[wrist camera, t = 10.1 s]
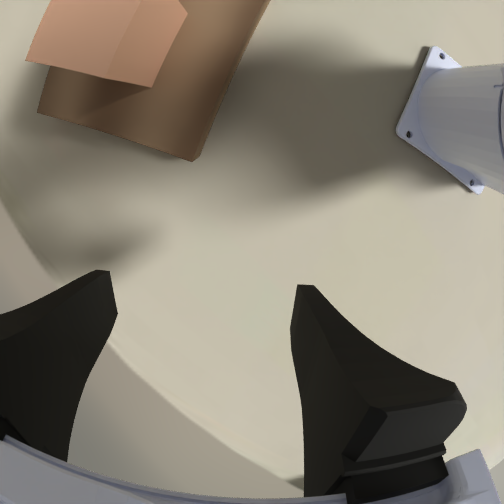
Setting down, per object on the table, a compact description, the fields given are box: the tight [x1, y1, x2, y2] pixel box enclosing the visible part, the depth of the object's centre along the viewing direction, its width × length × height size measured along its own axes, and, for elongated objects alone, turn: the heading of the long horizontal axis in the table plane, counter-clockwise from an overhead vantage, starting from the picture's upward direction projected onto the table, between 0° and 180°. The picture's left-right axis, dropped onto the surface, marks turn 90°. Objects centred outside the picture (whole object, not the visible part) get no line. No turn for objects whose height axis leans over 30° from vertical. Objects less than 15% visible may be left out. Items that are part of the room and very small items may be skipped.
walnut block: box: [37, 0, 270, 162], centre depth 15 cm, size 12×12×3 cm
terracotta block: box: [25, 0, 188, 88], centre depth 11 cm, size 5×5×6 cm
